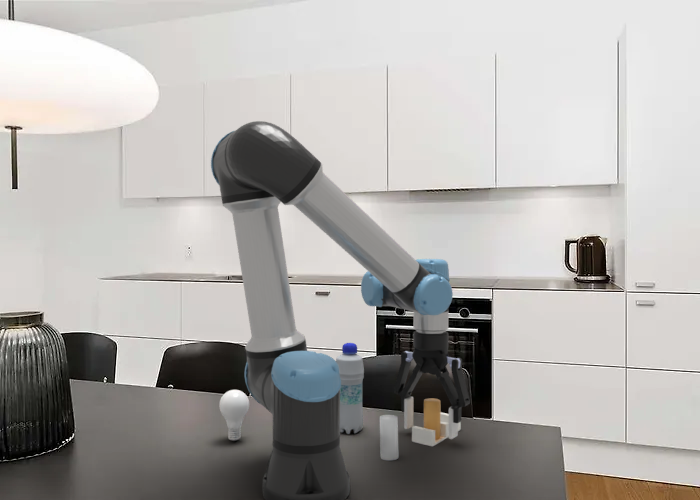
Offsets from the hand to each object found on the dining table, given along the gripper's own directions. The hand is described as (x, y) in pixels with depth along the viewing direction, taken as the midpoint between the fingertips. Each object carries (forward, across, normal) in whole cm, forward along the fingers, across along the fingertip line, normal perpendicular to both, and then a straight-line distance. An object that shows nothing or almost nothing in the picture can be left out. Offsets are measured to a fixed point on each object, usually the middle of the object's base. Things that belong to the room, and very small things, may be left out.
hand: (430, 432), depth 131 cm
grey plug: (+2, +2, +14) cm, 14 cm away
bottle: (+2, +18, +6) cm, 19 cm away
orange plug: (+1, 0, 0) cm, 1 cm away
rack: (+2, 0, -3) cm, 3 cm away
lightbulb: (+2, +34, +26) cm, 42 cm away
